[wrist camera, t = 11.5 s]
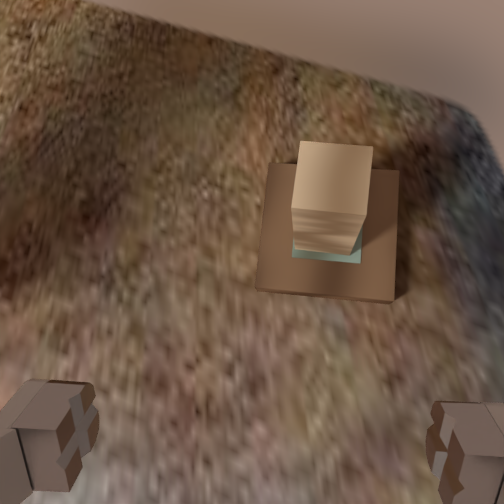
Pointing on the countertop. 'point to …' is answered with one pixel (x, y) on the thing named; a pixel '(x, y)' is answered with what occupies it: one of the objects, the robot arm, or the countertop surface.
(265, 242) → the slab
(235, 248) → the countertop surface
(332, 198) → the pillar
